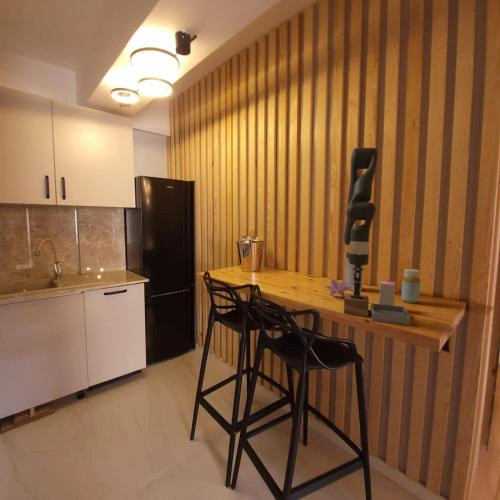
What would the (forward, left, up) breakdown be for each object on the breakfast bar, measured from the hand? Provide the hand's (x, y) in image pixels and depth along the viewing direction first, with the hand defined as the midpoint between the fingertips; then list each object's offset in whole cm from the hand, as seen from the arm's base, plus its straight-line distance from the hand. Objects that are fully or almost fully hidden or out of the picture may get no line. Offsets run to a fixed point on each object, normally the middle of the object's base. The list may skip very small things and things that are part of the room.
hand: (356, 294), depth 113 cm
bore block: (0, 0, -7) cm, 7 cm away
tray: (+2, +12, -7) cm, 14 cm away
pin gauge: (0, 0, -4) cm, 4 cm away
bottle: (-25, +23, -8) cm, 35 cm away
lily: (-19, -9, -8) cm, 22 cm away
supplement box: (-10, +12, -8) cm, 17 cm away
